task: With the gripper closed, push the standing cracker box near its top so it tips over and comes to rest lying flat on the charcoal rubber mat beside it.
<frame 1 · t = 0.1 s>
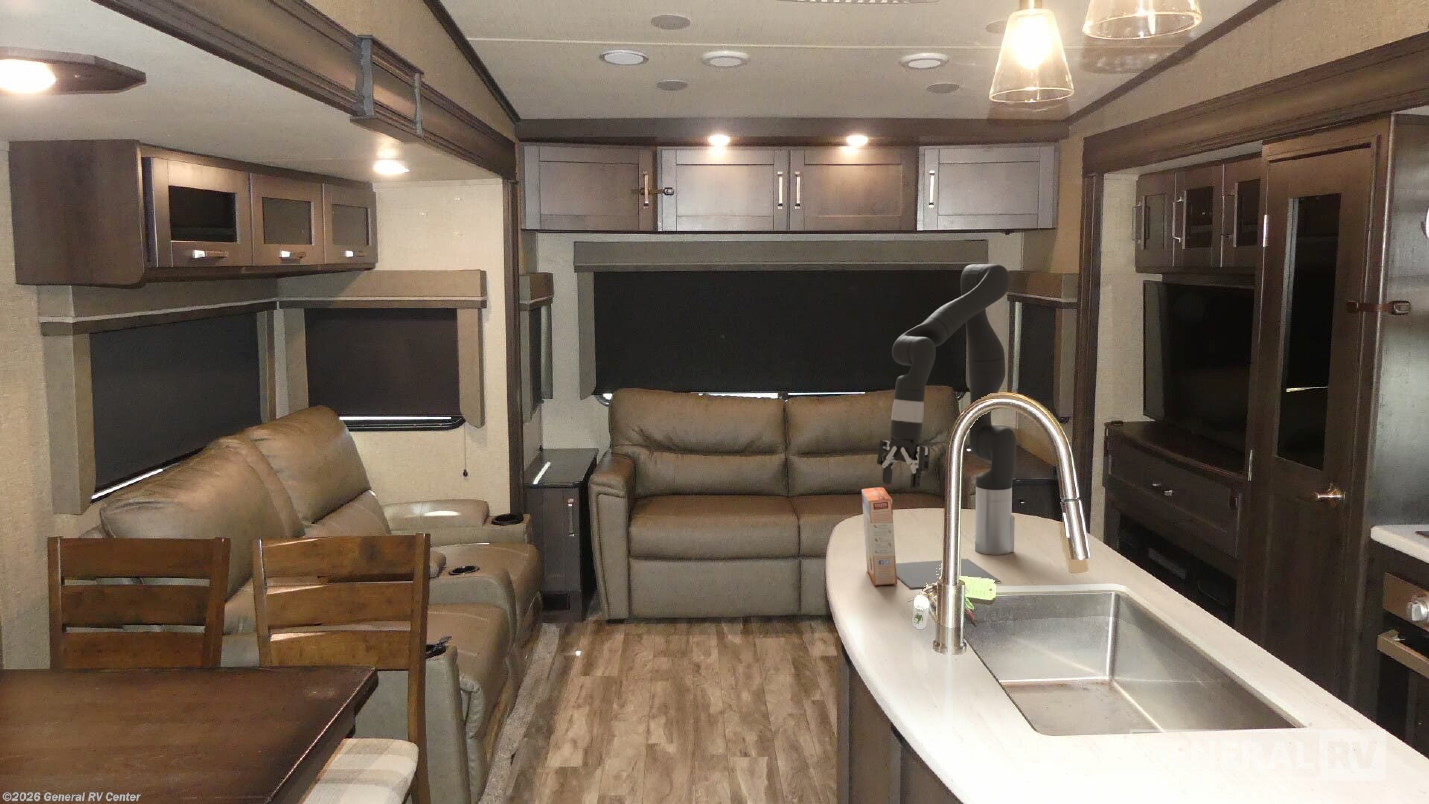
hand: (900, 486, 256), 23 cm above the table, tool pointing down, fingers open, 8 cm apart
mat: (940, 574, 261), on the table
cracker box: (882, 577, 259), on the table, touching mat
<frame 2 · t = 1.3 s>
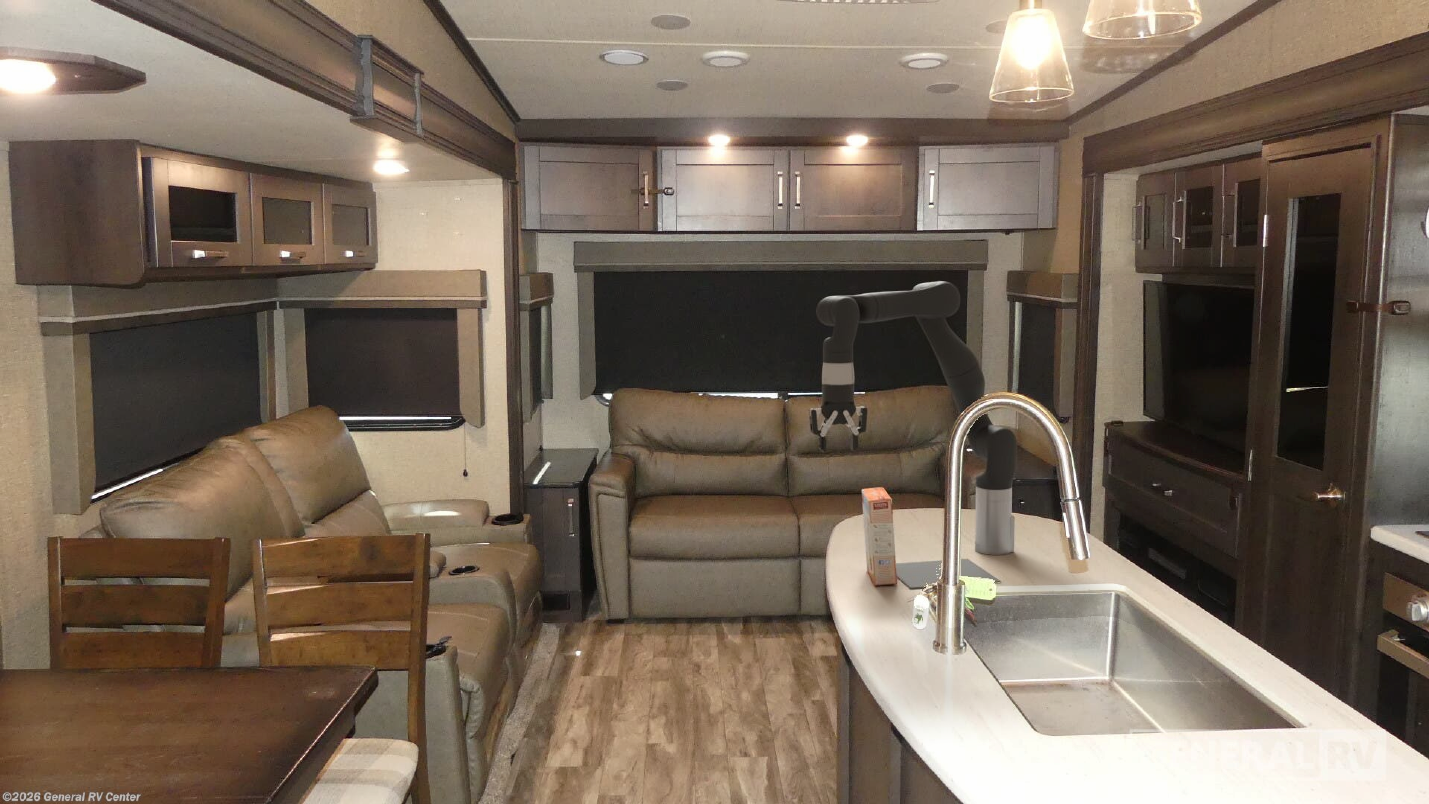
hand: (838, 450, 253), 32 cm above the table, tool pointing down, fingers open, 6 cm apart
nothing on the table moved.
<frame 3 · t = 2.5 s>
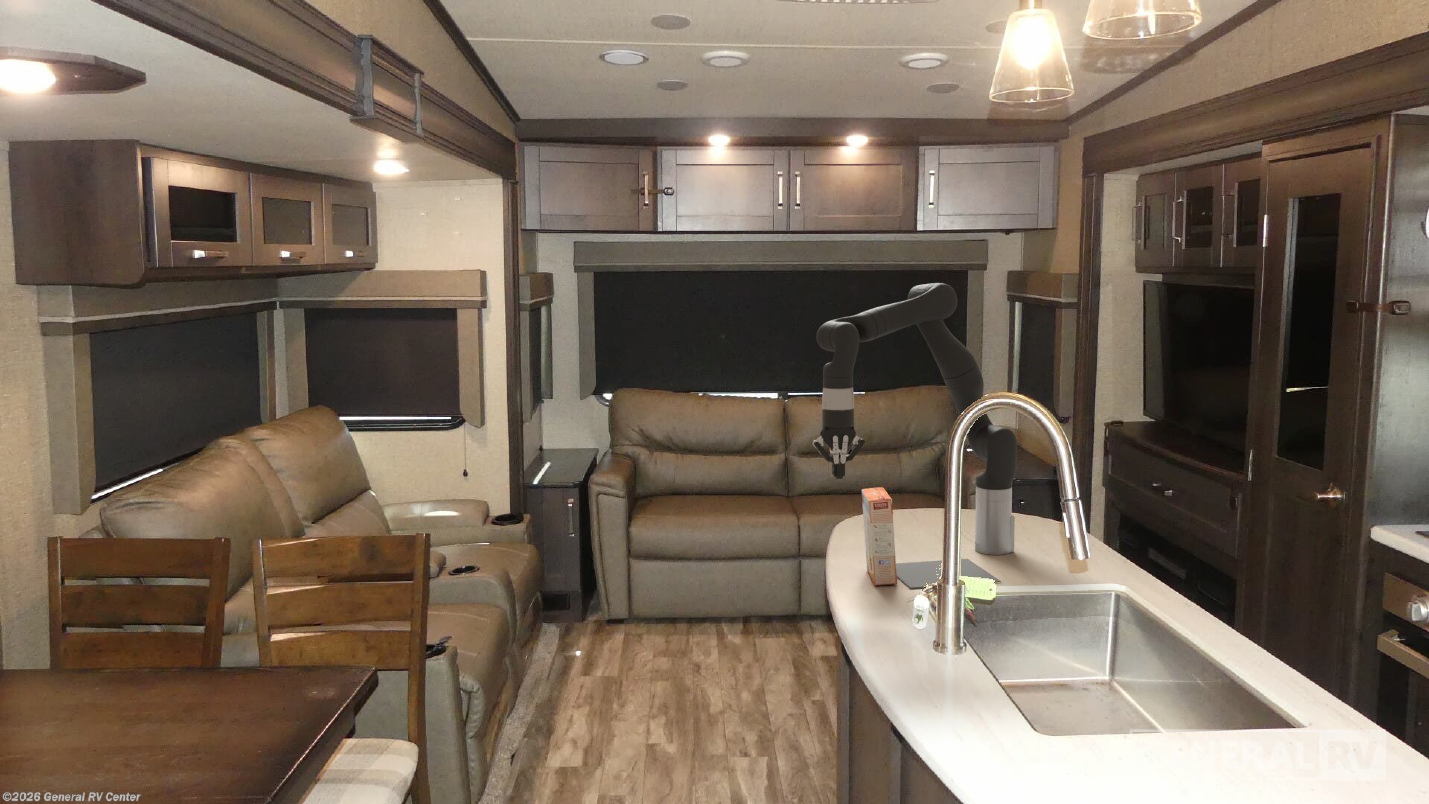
hand: (838, 478, 254), 25 cm above the table, tool pointing down, fingers closed
nothing on the table moved.
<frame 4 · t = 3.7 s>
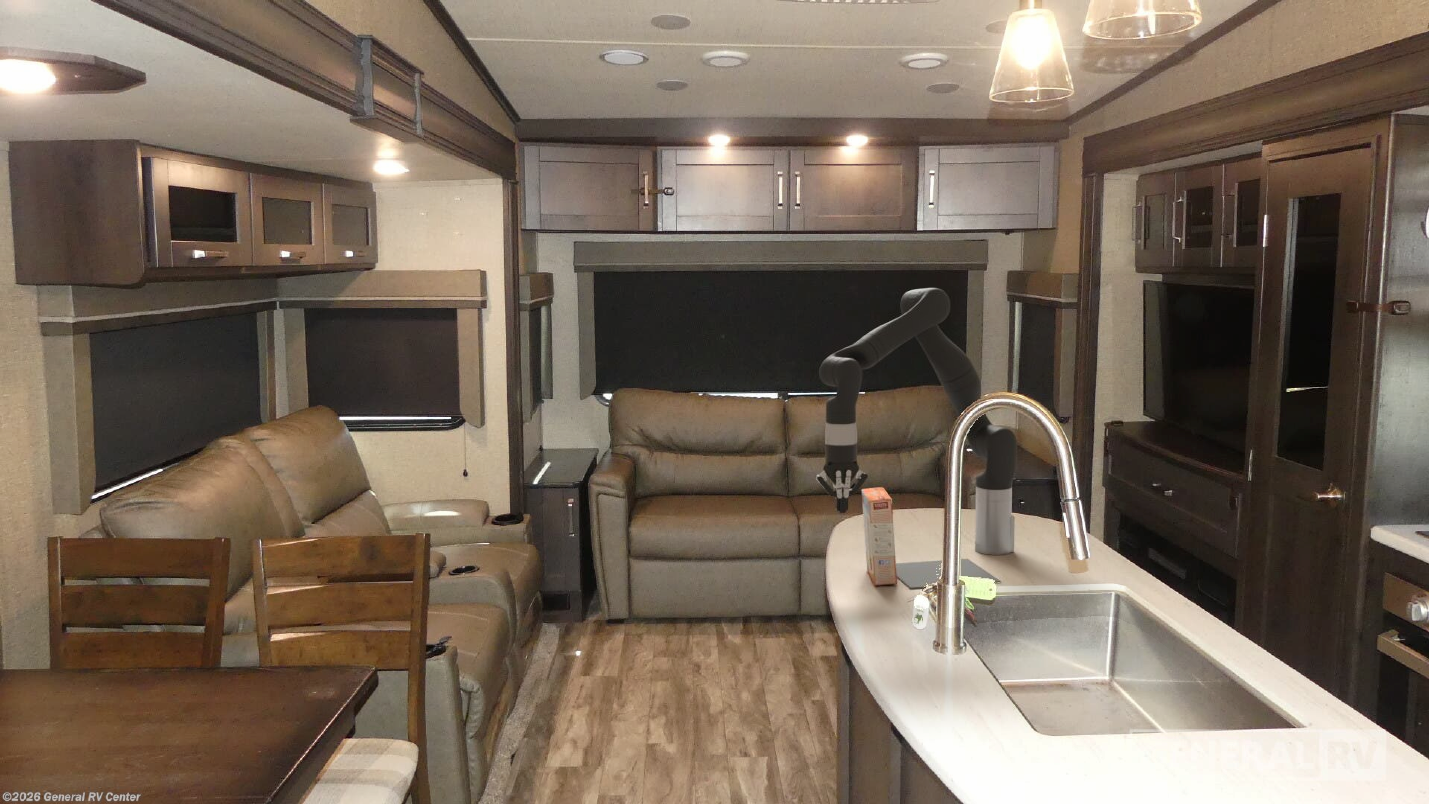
hand: (841, 512, 255), 17 cm above the table, tool pointing down, fingers closed
nothing on the table moved.
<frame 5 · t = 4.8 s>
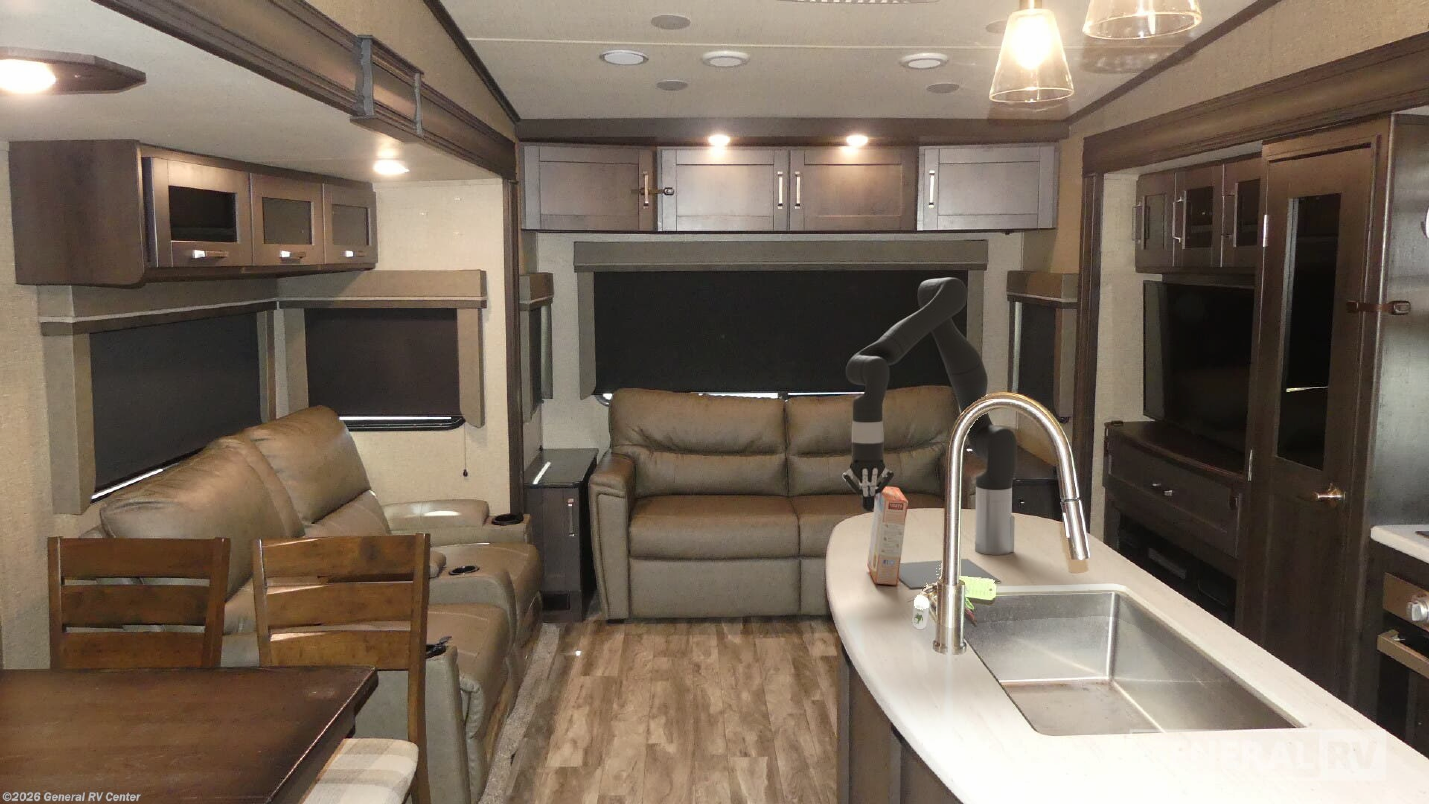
hand: (867, 510, 256), 17 cm above the table, tool pointing down, fingers closed
cracker box: (882, 576, 259), on the table, touching gripper, hand, mat
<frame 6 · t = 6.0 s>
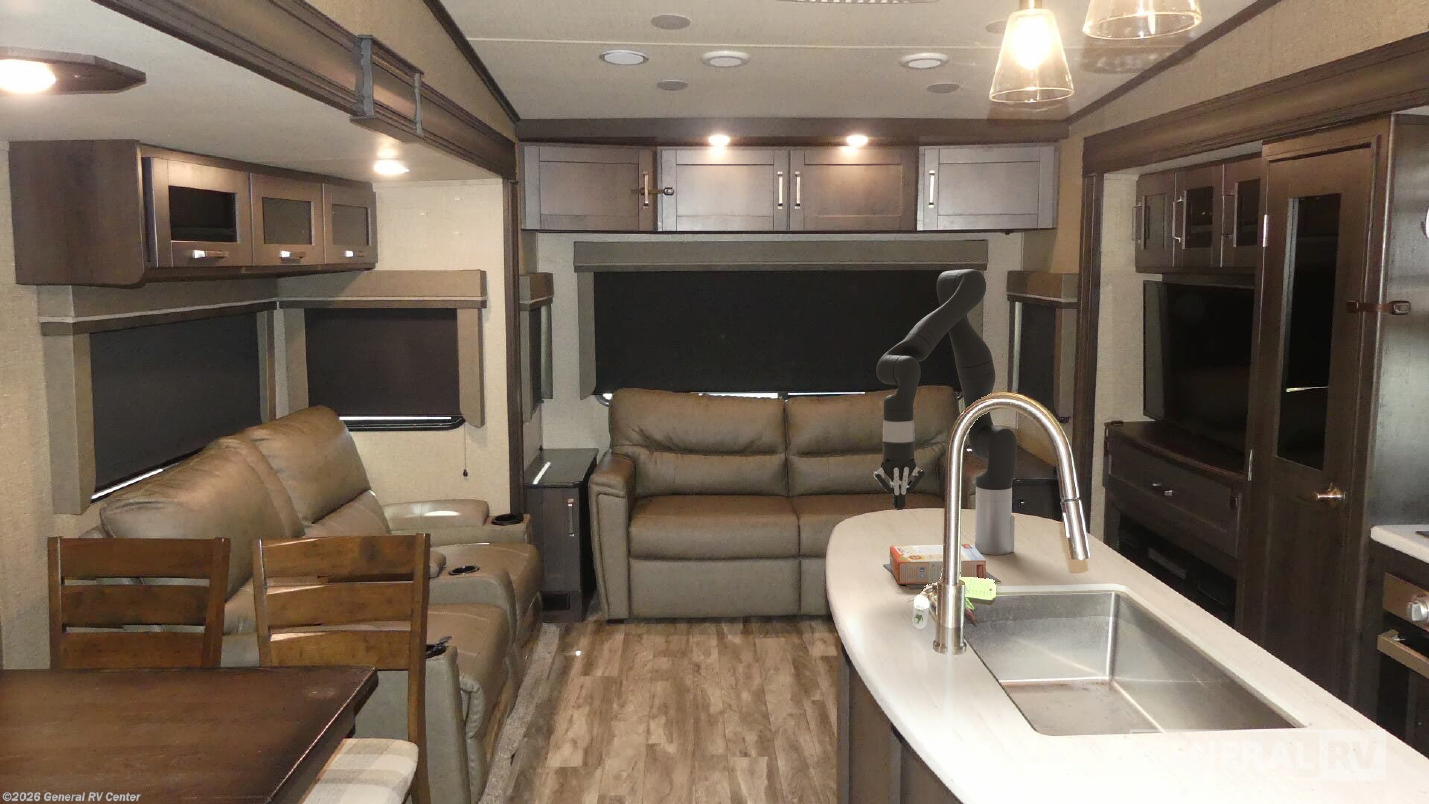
hand: (898, 509, 257), 17 cm above the table, tool pointing down, fingers closed
cracker box: (892, 565, 258), point 3 cm above the table, touching mat
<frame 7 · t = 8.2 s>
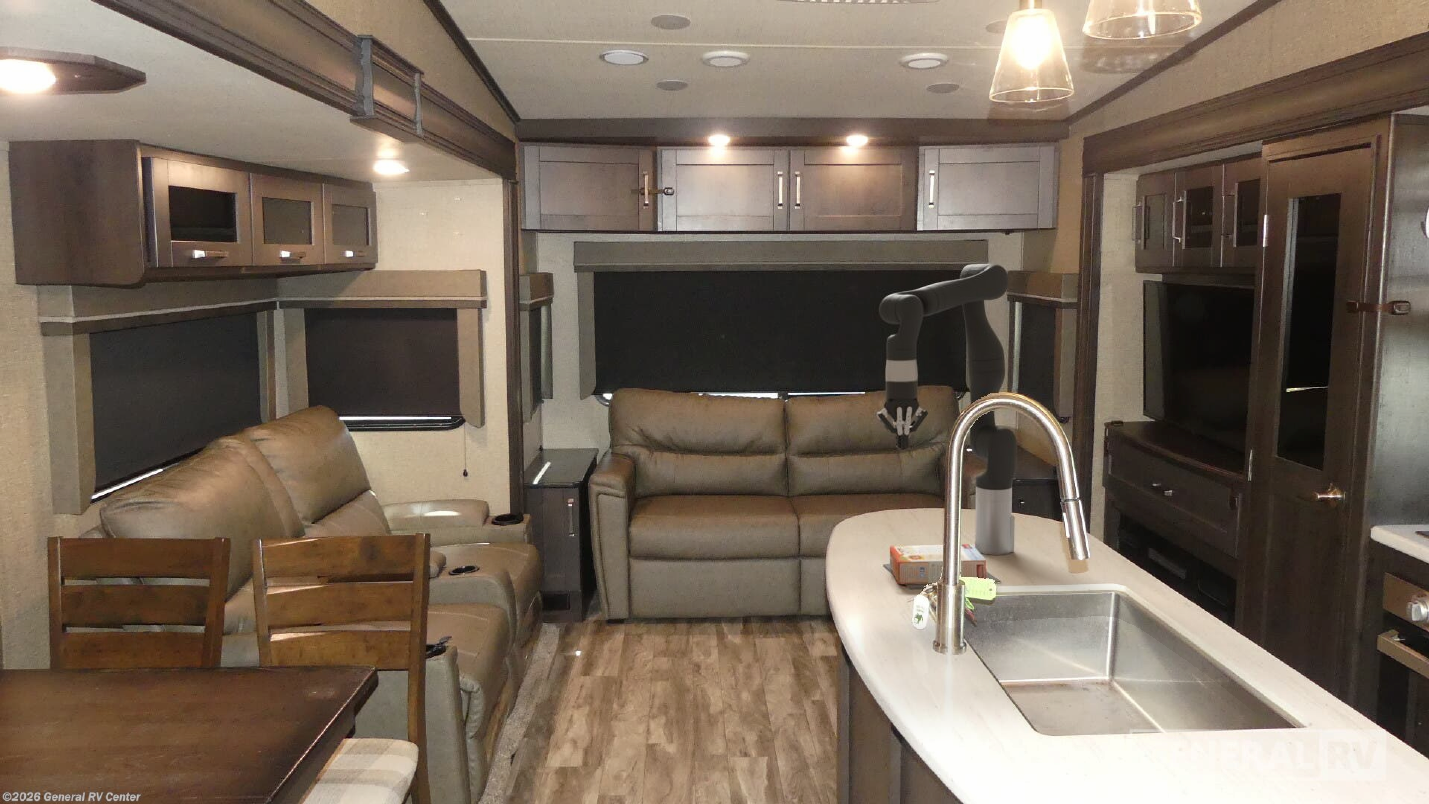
hand: (901, 449, 257), 31 cm above the table, tool pointing down, fingers closed
nothing on the table moved.
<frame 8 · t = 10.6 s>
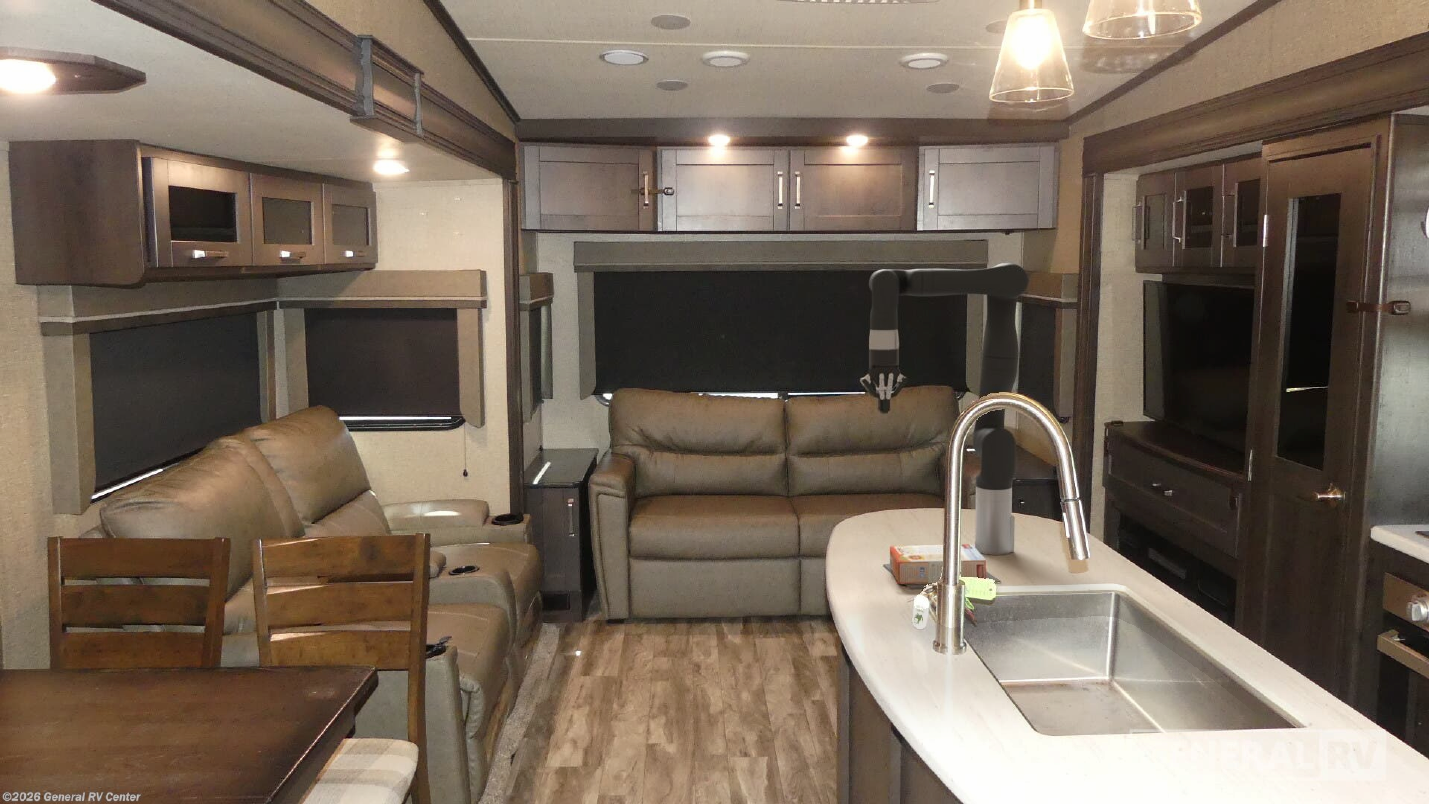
hand: (883, 413, 278), 37 cm above the table, tool pointing down, fingers closed
nothing on the table moved.
at the end: cracker box tilted 89°; cracker box touching mat; cracker box inside the target area (6.1 cm from its centre), point 3.2 cm above the table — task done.
